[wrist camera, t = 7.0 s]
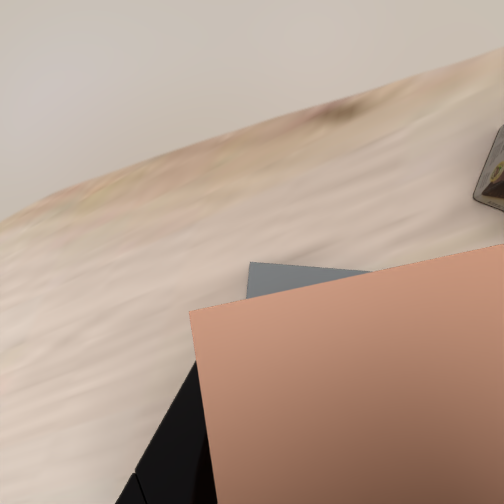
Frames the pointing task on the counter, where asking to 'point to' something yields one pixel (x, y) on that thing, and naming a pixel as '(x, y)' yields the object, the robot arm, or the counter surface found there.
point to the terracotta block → (360, 387)
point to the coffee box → (493, 176)
